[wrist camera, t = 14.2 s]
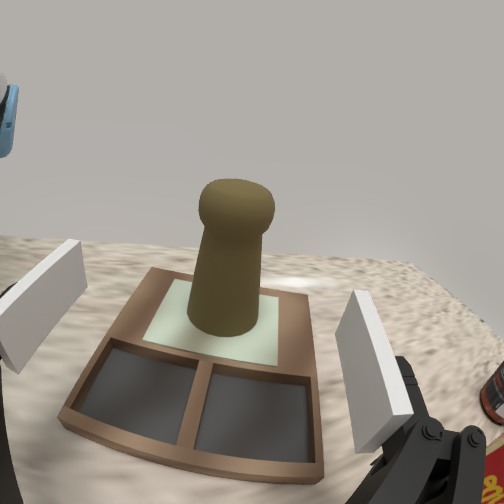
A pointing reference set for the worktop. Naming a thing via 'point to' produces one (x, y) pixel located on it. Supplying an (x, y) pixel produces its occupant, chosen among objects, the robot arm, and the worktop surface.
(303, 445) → the board
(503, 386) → the supplement bottle
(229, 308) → the cork
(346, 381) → the robot arm
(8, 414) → the worktop surface
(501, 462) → the milk carton
